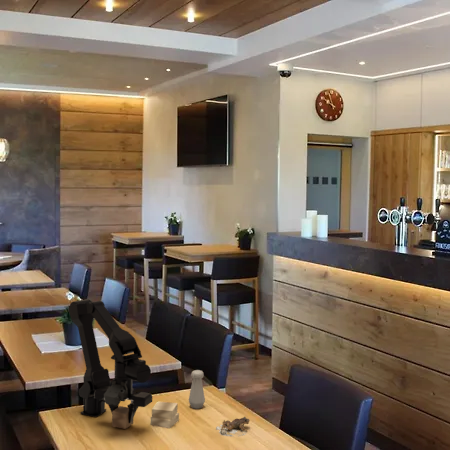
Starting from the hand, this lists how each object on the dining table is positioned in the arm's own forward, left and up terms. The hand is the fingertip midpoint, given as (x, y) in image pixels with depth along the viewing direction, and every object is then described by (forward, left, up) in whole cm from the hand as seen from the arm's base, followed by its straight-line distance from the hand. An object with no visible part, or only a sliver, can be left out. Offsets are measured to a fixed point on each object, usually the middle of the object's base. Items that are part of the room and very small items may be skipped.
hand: (122, 421), depth 199 cm
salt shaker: (+15, +26, -2) cm, 30 cm away
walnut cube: (0, 0, -1) cm, 1 cm away
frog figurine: (+34, +14, -2) cm, 36 cm away
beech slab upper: (+11, +9, +1) cm, 14 cm away
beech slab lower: (+11, +9, -2) cm, 14 cm away
